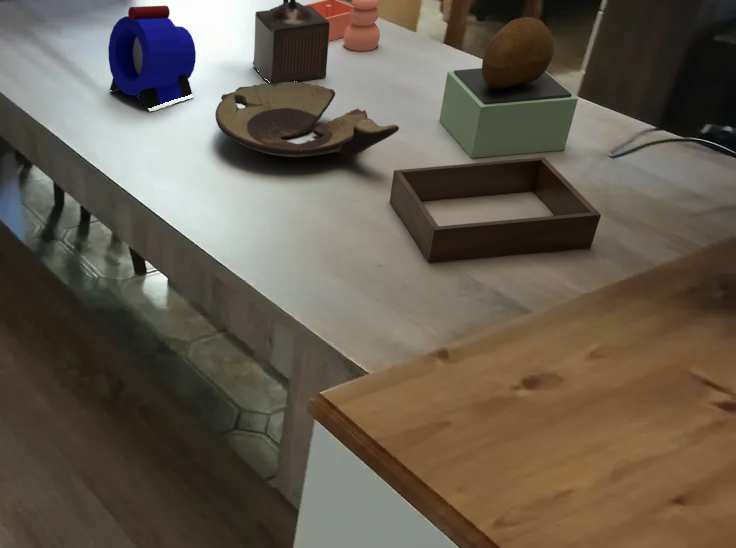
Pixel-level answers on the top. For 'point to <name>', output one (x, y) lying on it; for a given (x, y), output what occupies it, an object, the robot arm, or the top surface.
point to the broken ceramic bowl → (294, 121)
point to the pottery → (351, 22)
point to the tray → (496, 237)
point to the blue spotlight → (151, 56)
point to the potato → (517, 53)
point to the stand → (506, 114)
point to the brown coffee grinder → (291, 43)
